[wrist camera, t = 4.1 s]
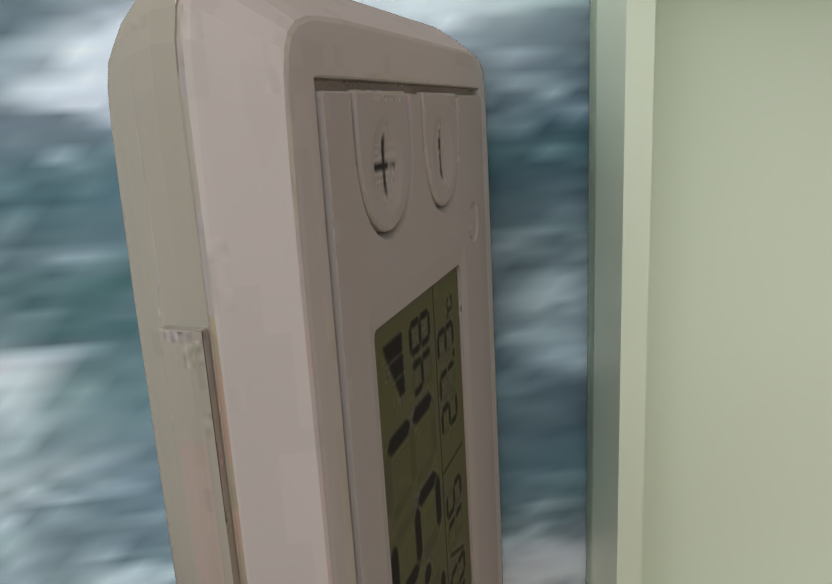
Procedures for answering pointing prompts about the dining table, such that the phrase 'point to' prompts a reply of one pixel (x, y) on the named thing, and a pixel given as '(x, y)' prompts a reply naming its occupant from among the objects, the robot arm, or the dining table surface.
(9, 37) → the dining table surface
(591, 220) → the tray
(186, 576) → the digital clock
